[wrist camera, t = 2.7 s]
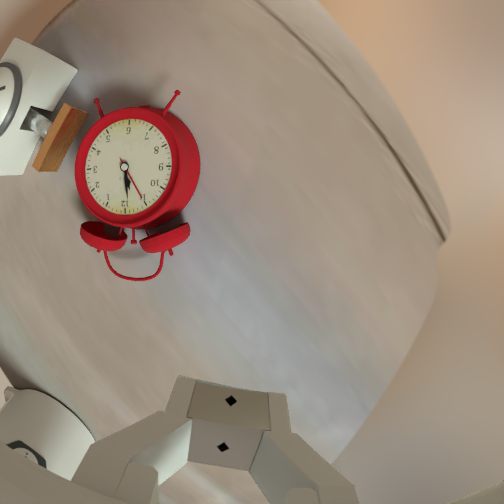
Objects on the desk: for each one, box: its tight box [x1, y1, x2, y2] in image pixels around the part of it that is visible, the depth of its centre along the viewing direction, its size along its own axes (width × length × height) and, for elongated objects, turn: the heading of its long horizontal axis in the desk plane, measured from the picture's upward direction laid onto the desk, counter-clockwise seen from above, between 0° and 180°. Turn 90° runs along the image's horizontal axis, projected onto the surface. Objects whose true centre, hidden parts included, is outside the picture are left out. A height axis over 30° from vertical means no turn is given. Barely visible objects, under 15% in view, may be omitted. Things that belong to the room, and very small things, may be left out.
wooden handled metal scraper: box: [23, 103, 88, 172], centre depth 20 cm, size 6×6×3 cm
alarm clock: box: [75, 90, 200, 281], centre depth 22 cm, size 10×6×15 cm
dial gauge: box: [0, 38, 78, 176], centre depth 19 cm, size 12×8×7 cm, turn 145°
